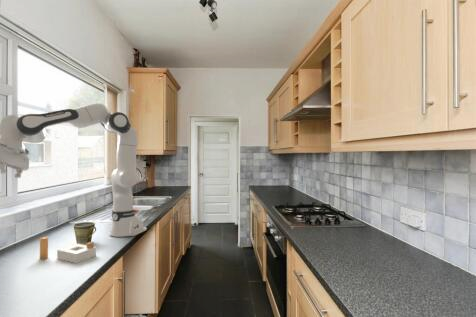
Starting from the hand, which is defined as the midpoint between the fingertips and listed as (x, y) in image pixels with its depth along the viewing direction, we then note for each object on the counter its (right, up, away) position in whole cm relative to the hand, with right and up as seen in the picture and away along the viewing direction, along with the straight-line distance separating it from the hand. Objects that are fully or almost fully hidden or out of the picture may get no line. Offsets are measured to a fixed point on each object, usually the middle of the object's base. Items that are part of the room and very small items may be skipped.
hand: (11, 175), depth 129 cm
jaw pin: (+19, -37, -5) cm, 41 cm away
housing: (+32, -37, -3) cm, 49 cm away
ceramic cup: (+26, -37, +17) cm, 48 cm away
